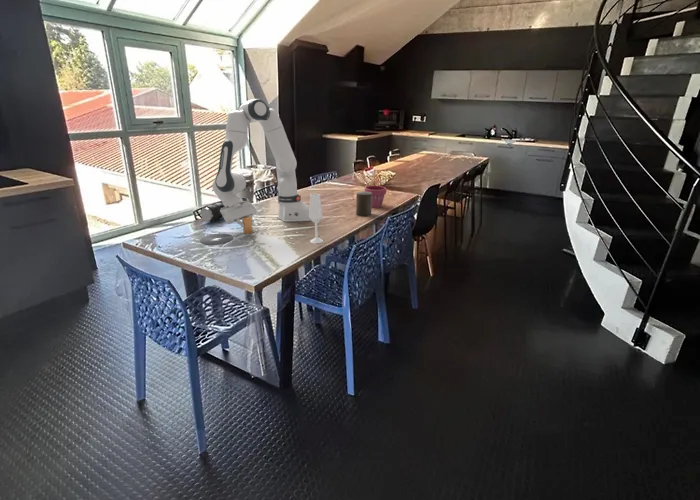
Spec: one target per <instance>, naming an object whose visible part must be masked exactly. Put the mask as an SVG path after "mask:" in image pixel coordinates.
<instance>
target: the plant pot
mask: <svg viewBox="0 0 700 500" xmlns="http://www.w3.org/2000/svg"><path fill="white" fill-rule="evenodd" d="M364 191H366V192H371V193H372V208H373V209H381V207H382V206H383V204H384V203H383V202H384V198H385V195H386V194H387V188H386V187H385V186H382V185H367V186H365V187H364Z"/></svg>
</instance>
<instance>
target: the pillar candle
mask: <svg viewBox="0 0 700 500" xmlns="http://www.w3.org/2000/svg"><path fill="white" fill-rule="evenodd" d="M355 200H356V205H355V207H356V208H355V215H357V216H360V217H370V216H371V215H372V193H371V192H366V191H365V190H363V191H357V192H356V199H355Z"/></svg>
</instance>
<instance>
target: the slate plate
mask: <svg viewBox="0 0 700 500" xmlns="http://www.w3.org/2000/svg"><path fill="white" fill-rule="evenodd" d="M233 238H234V236H233V235H232V234H229V233H223V232H221V233H220V232H219V233H213V234H212V233H211V234H207V235H205V236H203V237H201V238H200V239H199V241H200V243H201V244H204V245H209V246H211V245H213V246H215V245H222V244H226V243H228V242H230V241H233Z"/></svg>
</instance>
